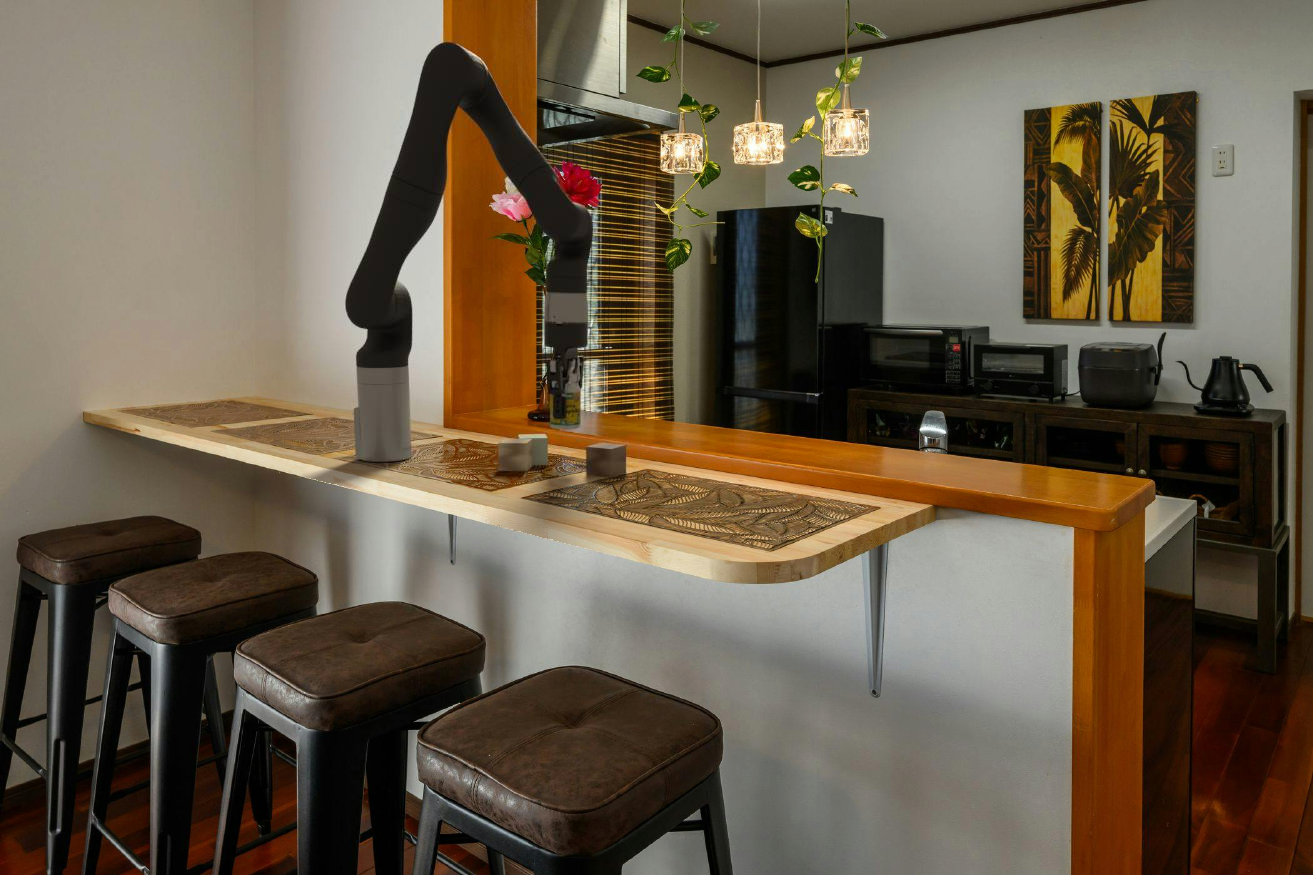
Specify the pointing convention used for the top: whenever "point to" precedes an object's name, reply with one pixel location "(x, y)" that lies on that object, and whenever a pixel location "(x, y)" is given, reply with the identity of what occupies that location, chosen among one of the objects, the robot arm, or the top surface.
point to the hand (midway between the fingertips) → (565, 416)
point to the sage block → (538, 448)
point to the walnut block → (605, 460)
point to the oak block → (515, 454)
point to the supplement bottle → (569, 408)
